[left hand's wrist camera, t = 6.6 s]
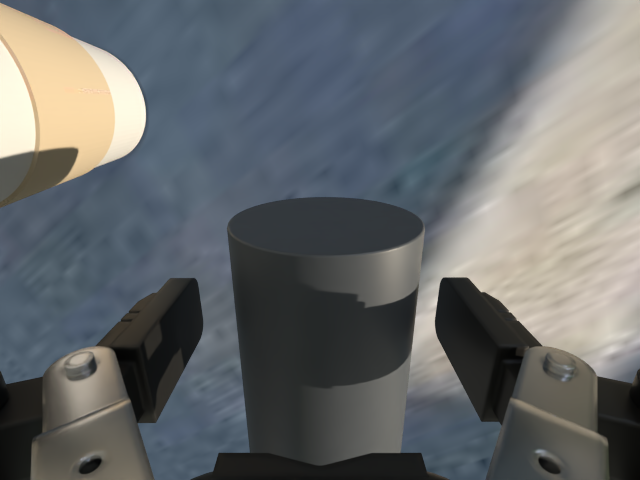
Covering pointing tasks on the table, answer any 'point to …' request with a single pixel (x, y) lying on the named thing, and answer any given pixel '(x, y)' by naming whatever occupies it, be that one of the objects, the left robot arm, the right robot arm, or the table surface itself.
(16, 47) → the coffee cup
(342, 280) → the cylinder
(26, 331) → the table surface
